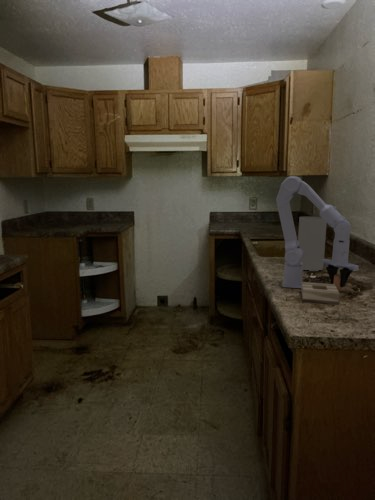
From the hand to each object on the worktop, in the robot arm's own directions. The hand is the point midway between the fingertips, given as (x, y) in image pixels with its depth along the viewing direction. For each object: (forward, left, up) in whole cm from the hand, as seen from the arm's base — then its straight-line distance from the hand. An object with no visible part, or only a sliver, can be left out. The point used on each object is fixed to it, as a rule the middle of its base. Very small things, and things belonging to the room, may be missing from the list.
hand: (337, 285), depth 149 cm
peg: (0, 0, -2) cm, 2 cm away
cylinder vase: (-37, -8, -2) cm, 38 cm away
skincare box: (-15, +2, -2) cm, 15 cm away
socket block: (+12, -8, -2) cm, 15 cm away
